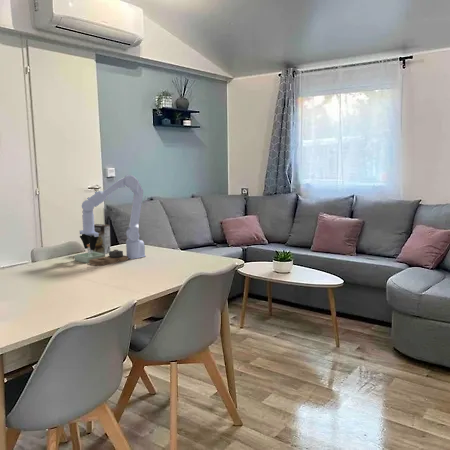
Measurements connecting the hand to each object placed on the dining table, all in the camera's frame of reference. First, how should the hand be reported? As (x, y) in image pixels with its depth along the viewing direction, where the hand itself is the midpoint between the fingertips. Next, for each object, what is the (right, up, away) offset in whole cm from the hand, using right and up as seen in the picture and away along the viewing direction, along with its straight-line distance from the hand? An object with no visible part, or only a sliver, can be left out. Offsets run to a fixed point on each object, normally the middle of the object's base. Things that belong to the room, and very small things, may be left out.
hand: (89, 249), depth 245 cm
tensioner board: (+11, -6, -3) cm, 13 cm away
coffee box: (+1, -3, +20) cm, 20 cm away
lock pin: (0, -5, 0) cm, 5 cm away
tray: (0, -6, +1) cm, 6 cm away
